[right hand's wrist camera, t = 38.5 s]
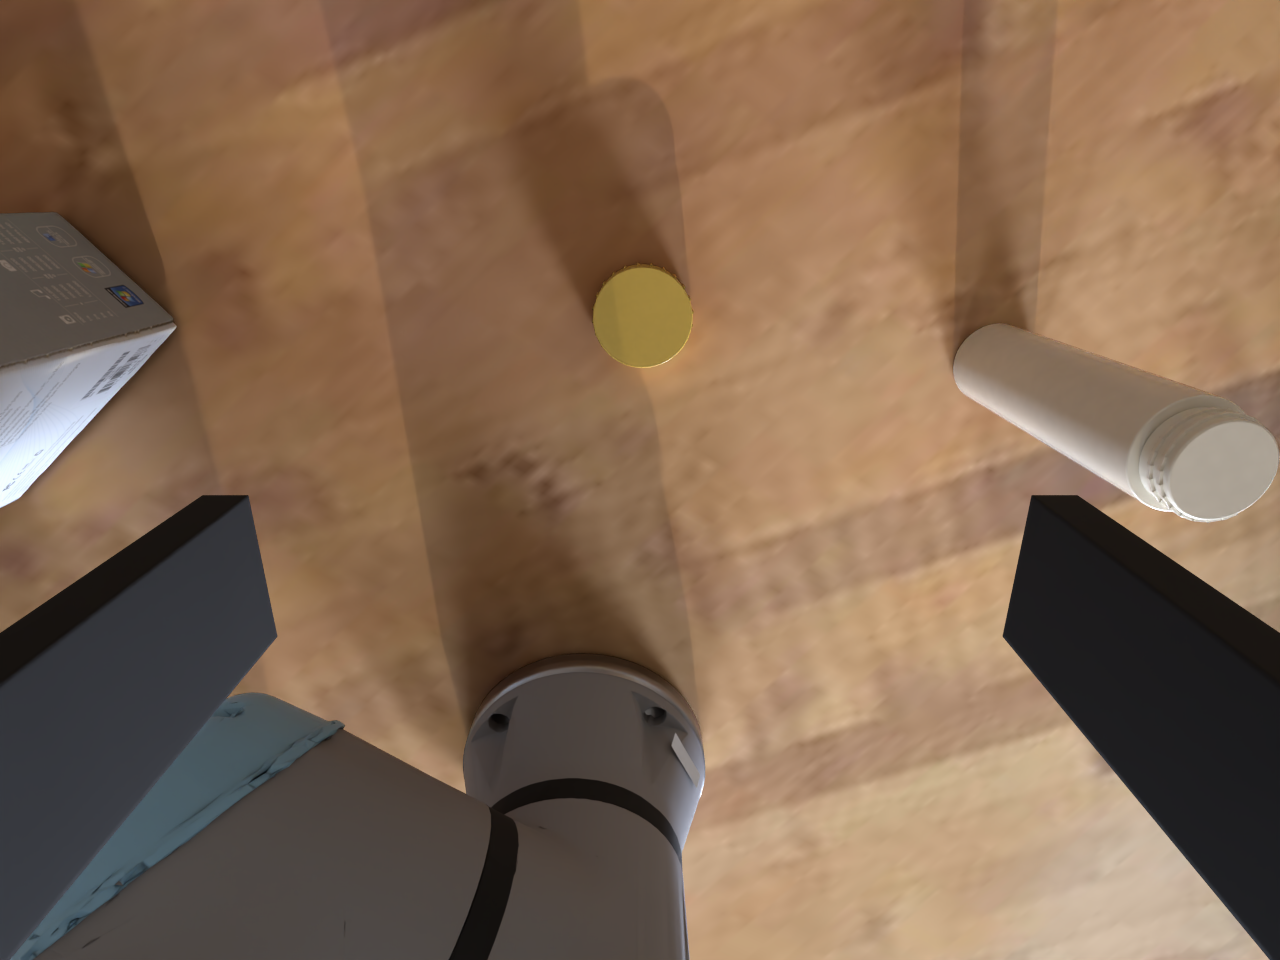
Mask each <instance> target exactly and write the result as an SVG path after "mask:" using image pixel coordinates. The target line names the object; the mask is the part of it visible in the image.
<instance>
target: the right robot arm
mask: <svg viewBox="0 0 1280 960" xmlns="http://www.w3.org/2000/svg"><path fill="white" fill-rule="evenodd" d="M276 637H277V632H276V628H275V623H274V618H273V613H272V608H271V603H270V598H269V594H268V589H267V584H266V579H265V574H264V569H263V564H262V560H261V555H260V550H259V545H258V540H257V535H256V530H255V526H254V521H253V516H252V511H251V506H250V501H249V496H248V495H202V496H201V497H199V498H198V499H196V500H195V501H194V502H192V503H191V504H189V505H188V506H186V507H185V508H183V509H182V510H180V511H179V512H177V513H176V514H174V515H173V516H172V517H170V518H169V519H167V520H166V521H164V522H163V523H161V524H160V525H158V526H157V527H155V528H154V529H152V530H151V531H149V532H148V533H147V534H145V535H144V536H142V537H141V538H139V539H138V540H136V541H135V542H133V543H132V544H130V545H129V546H127V547H126V548H124V549H123V550H122V551H120V552H119V553H117V554H116V555H114V556H113V557H111V558H110V559H108V560H107V561H105V562H104V563H102V564H101V565H100V566H98V567H97V568H95V569H94V570H92V571H91V572H89V573H88V574H86V575H85V576H83V577H82V578H80V579H79V580H77V581H76V582H75V583H73V584H72V585H70V586H69V587H67V588H66V589H64V590H63V591H61V592H60V593H58V594H57V595H55V596H54V597H52V598H51V599H50V600H48V601H47V602H45V603H44V604H42V605H41V606H39V607H38V608H36V609H35V610H33V611H32V612H30V613H29V614H28V615H26V616H25V617H23V618H22V619H20V620H19V621H17V622H16V623H14V624H13V625H11V626H10V627H8V628H7V629H5V630H4V631H3V632H1V633H0V960H690V958H689V945H688V933H687V920H686V908H685V895H684V882H683V873H682V850H683V847H684V844H685V841H686V838H687V835H688V832H689V829H690V826H691V823H692V820H693V816H694V813H695V810H696V807H697V804H698V801H699V798H700V796H701V793H702V789H703V785H704V779H705V760H704V751H703V742H702V736H701V731H700V728H699V725H698V722H697V719H696V717H695V715H694V713H693V711H692V709H691V708H690V706H689V705H688V703H687V702H686V700H685V699H684V698H683V697H682V695H681V694H680V693H679V692H678V691H677V690H676V689H675V688H674V687H673V686H672V685H670V684H669V683H668V682H667V681H666V680H664V679H663V678H661V677H660V676H658V675H657V674H655V673H654V672H652V671H650V670H648V669H646V668H644V667H642V666H640V665H638V664H635V663H632V662H629V661H627V660H624V659H620V658H616V657H611V656H605V655H597V654H569V655H561V656H555V657H550V658H547V659H543V660H540V661H537V662H534V663H531V664H529V665H527V666H525V667H523V668H520V669H519V670H517V671H515V672H514V673H512V674H510V675H509V676H507V677H506V678H505V679H503V680H502V681H501V682H500V683H499V684H498V685H496V686H495V687H494V688H493V689H492V690H491V692H490V693H489V694H488V695H487V696H486V698H485V699H484V700H483V702H482V703H481V705H480V707H479V709H478V710H477V712H476V715H475V717H474V720H473V722H472V726H471V729H470V732H469V735H468V738H467V742H466V745H465V749H464V756H463V772H464V779H465V786H466V794H465V793H463V792H461V791H459V790H457V789H455V788H453V787H451V786H449V785H447V784H445V783H443V782H441V781H439V780H437V779H435V778H433V777H431V776H430V775H428V774H426V773H424V772H422V771H420V770H418V769H416V768H415V767H413V766H411V765H409V764H407V763H405V762H403V761H401V760H400V759H398V758H396V757H394V756H392V755H390V754H388V753H386V752H385V751H383V750H381V749H379V748H377V747H375V746H373V745H371V744H370V743H368V742H366V741H364V740H362V739H360V738H358V737H356V736H355V735H353V734H351V733H349V732H347V731H345V730H343V728H344V727H345V725H344V724H343V723H341V722H340V721H337V720H334V721H326V720H324V719H322V718H320V717H318V716H315V715H313V714H311V713H309V712H307V711H304V710H302V709H300V708H298V707H295V706H293V705H291V704H289V703H287V702H284V701H282V700H280V699H278V698H276V697H273V696H270V695H267V694H263V693H244V694H239V695H235V696H232V697H229V698H227V697H228V696H229V694H230V693H231V692H232V691H233V690H234V688H235V687H236V686H237V685H238V683H239V682H240V681H241V680H242V679H243V677H244V676H245V675H246V674H247V673H248V671H249V670H250V669H251V668H252V667H253V665H254V664H255V663H256V662H257V660H258V659H259V658H260V657H261V656H262V654H263V653H264V652H265V651H266V650H267V648H268V647H269V646H270V645H271V644H272V642H273V641H274V640H275V639H276ZM1003 637H1004V639H1005V640H1006V641H1007V642H1008V644H1009V645H1010V646H1011V647H1012V648H1013V650H1014V651H1015V652H1016V653H1017V654H1018V656H1019V657H1020V658H1021V659H1022V660H1023V662H1024V663H1025V664H1026V665H1027V667H1028V668H1029V669H1030V670H1031V671H1032V673H1033V674H1034V675H1035V676H1036V677H1037V679H1038V680H1039V681H1040V682H1041V683H1042V685H1043V686H1044V687H1045V688H1046V690H1047V691H1048V692H1049V693H1050V694H1051V696H1052V697H1053V698H1054V699H1055V700H1056V702H1057V703H1058V704H1059V705H1060V706H1061V708H1062V709H1063V710H1064V711H1065V712H1066V714H1067V715H1068V716H1069V717H1070V719H1071V720H1072V721H1073V722H1074V723H1075V725H1076V726H1077V727H1078V728H1079V729H1080V731H1081V732H1082V733H1083V734H1084V735H1085V737H1086V738H1087V739H1088V740H1089V742H1090V743H1091V744H1092V745H1093V746H1094V748H1095V749H1096V750H1097V751H1098V752H1099V754H1100V755H1101V756H1102V757H1103V758H1104V760H1105V761H1106V762H1107V763H1108V765H1109V766H1110V767H1111V768H1112V769H1113V771H1114V772H1115V773H1116V774H1117V775H1118V777H1119V778H1120V779H1121V780H1122V781H1123V783H1124V784H1125V785H1126V786H1127V788H1128V789H1129V790H1130V791H1131V792H1132V794H1133V795H1134V796H1135V797H1136V798H1137V800H1138V801H1139V802H1140V803H1141V804H1142V806H1143V807H1144V808H1145V809H1146V810H1147V812H1148V813H1149V814H1150V815H1151V817H1152V818H1153V819H1154V820H1155V821H1156V823H1157V824H1158V825H1159V826H1160V827H1161V829H1162V830H1163V831H1164V832H1165V833H1166V835H1167V836H1168V837H1169V838H1170V840H1171V841H1172V842H1173V843H1174V844H1175V846H1176V847H1177V848H1178V849H1179V850H1180V852H1181V853H1182V854H1183V855H1184V856H1185V858H1186V859H1187V860H1188V861H1189V863H1190V864H1191V865H1192V866H1193V867H1194V869H1195V870H1196V871H1197V872H1198V873H1199V875H1200V876H1201V877H1202V878H1203V879H1204V881H1205V882H1206V883H1207V884H1208V886H1209V887H1210V888H1211V889H1212V890H1213V892H1214V893H1215V894H1216V895H1217V896H1218V898H1219V899H1220V900H1221V901H1222V902H1223V904H1224V905H1225V906H1226V907H1227V908H1228V910H1229V911H1230V912H1231V913H1232V915H1233V916H1234V917H1235V918H1236V919H1237V921H1238V922H1239V923H1240V924H1241V925H1242V927H1243V928H1244V929H1245V930H1246V931H1247V933H1248V934H1249V935H1250V936H1251V938H1252V939H1253V940H1254V941H1255V942H1256V944H1257V945H1258V946H1259V947H1260V948H1261V950H1262V951H1263V952H1264V953H1265V954H1266V956H1267V957H1268V958H1269V959H1270V960H1280V633H1279V632H1277V631H1276V630H1275V629H1273V628H1272V627H1270V626H1269V625H1267V624H1266V623H1264V622H1263V621H1261V620H1260V619H1258V618H1257V617H1255V616H1254V615H1252V614H1251V613H1250V612H1248V611H1247V610H1245V609H1244V608H1242V607H1241V606H1239V605H1238V604H1236V603H1235V602H1233V601H1232V600H1230V599H1229V598H1228V597H1226V596H1225V595H1223V594H1222V593H1220V592H1219V591H1217V590H1216V589H1214V588H1213V587H1211V586H1210V585H1208V584H1207V583H1205V582H1204V581H1203V580H1201V579H1200V578H1198V577H1197V576H1195V575H1194V574H1192V573H1191V572H1189V571H1188V570H1186V569H1185V568H1183V567H1182V566H1180V565H1179V564H1178V563H1176V562H1175V561H1173V560H1172V559H1170V558H1169V557H1167V556H1166V555H1164V554H1163V553H1161V552H1160V551H1158V550H1157V549H1156V548H1154V547H1153V546H1151V545H1150V544H1148V543H1147V542H1145V541H1144V540H1142V539H1141V538H1139V537H1138V536H1136V535H1135V534H1133V533H1132V532H1131V531H1129V530H1128V529H1126V528H1125V527H1123V526H1122V525H1120V524H1119V523H1117V522H1116V521H1114V520H1113V519H1111V518H1110V517H1108V516H1107V515H1106V514H1104V513H1103V512H1101V511H1100V510H1098V509H1097V508H1095V507H1094V506H1092V505H1091V504H1089V503H1088V502H1086V501H1085V500H1084V499H1082V498H1081V497H1079V496H1078V495H1032V496H1031V501H1030V506H1029V511H1028V516H1027V521H1026V526H1025V530H1024V535H1023V540H1022V545H1021V550H1020V555H1019V560H1018V564H1017V569H1016V574H1015V579H1014V584H1013V589H1012V594H1011V598H1010V603H1009V608H1008V613H1007V618H1006V623H1005V628H1004V632H1003ZM226 698H227V699H226Z"/></svg>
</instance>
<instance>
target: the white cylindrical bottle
mask: <svg viewBox="0 0 1280 960" xmlns="http://www.w3.org/2000/svg"><path fill="white" fill-rule="evenodd" d="M953 373H954V379H955V382H956V384H957V386H958V388H959V389H960V390H961V392H962V393H963V394H965V395H966V396H967V397H969V398H970V399H972V400H974V401H975V402H977V403H979V404H980V405H982V406H984V407H985V408H987V409H989V410H990V411H992V412H993V413H995V414H997V415H998V416H1000V417H1002V418H1003V419H1005V420H1007V421H1008V422H1010V423H1012V424H1013V425H1015V426H1017V427H1018V428H1020V429H1021V430H1023V431H1025V432H1026V433H1028V434H1030V435H1031V436H1033V437H1035V438H1036V439H1038V440H1040V441H1041V442H1043V443H1045V444H1046V445H1048V446H1049V447H1051V448H1053V449H1054V450H1056V451H1058V452H1059V453H1061V454H1063V455H1064V456H1066V457H1068V458H1069V459H1071V460H1072V461H1074V462H1076V463H1077V464H1079V465H1081V466H1082V467H1084V468H1086V469H1087V470H1089V471H1091V472H1092V473H1094V474H1096V475H1097V476H1099V477H1100V478H1102V479H1104V480H1105V481H1107V482H1109V483H1110V484H1112V485H1114V486H1115V487H1117V488H1119V489H1120V490H1122V491H1124V492H1125V493H1127V494H1128V495H1130V496H1132V497H1133V498H1135V499H1137V500H1138V501H1140V502H1142V503H1143V504H1145V505H1147V506H1149V507H1151V508H1153V509H1157V510H1161V511H1173V512H1174V513H1176V514H1177V515H1179V516H1180V517H1183V518H1186V519H1189V520H1192V521H1198V522H1214V521H1219V520H1226V519H1228V518H1231V517H1233V516H1235V515H1238V513H1239V512H1241V511H1243V510H1245V509H1246V508H1248V507H1249V506H1251V505H1252V504H1253V503H1255V502H1256V501H1257V500H1258V499H1259V498H1260V497H1261V496H1262V495H1263V494H1264V493H1265V491H1266V490H1267V489H1268V488H1269V486H1270V484H1271V483H1272V481H1273V479H1274V477H1275V475H1276V472H1277V469H1278V464H1279V449H1278V445H1277V442H1276V440H1275V438H1274V437H1273V435H1272V434H1271V432H1270V431H1269V430H1268V429H1267V428H1265V427H1264V426H1263V425H1262V424H1261V423H1260V422H1258V421H1257V420H1256V419H1255V418H1253V417H1250V416H1248V415H1246V414H1245V413H1244V411H1243V410H1242V409H1241V408H1240V407H1239V406H1238V405H1236V404H1235V403H1234V402H1232V401H1230V400H1228V399H1226V398H1223V397H1220V396H1217V395H1214V394H1211V393H1208V392H1205V391H1203V390H1200V389H1197V388H1194V387H1191V386H1188V385H1185V384H1182V383H1179V382H1176V381H1173V380H1170V379H1168V378H1165V377H1162V376H1159V375H1156V374H1153V373H1150V372H1147V371H1144V370H1141V369H1138V368H1135V367H1133V366H1130V365H1127V364H1124V363H1121V362H1118V361H1115V360H1112V359H1109V358H1106V357H1103V356H1100V355H1098V354H1095V353H1092V352H1089V351H1086V350H1083V349H1080V348H1077V347H1074V346H1071V345H1068V344H1065V343H1062V342H1060V341H1057V340H1054V339H1051V338H1048V337H1045V336H1042V335H1039V334H1036V333H1033V332H1030V331H1027V330H1025V329H1022V328H1019V327H1016V326H1013V325H1010V324H1003V323H998V324H991V325H987V326H985V327H982V328H980V329H978V330H976V331H975V332H973V333H972V334H971V335H970V336H969V337H967V339H966V340H965V341H964V342H963V343H962V345H961V346H960V348H959V349H958V351H957V354H956V356H955V360H954V365H953Z"/></svg>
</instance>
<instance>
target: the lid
mask: <svg viewBox="0 0 1280 960" xmlns="http://www.w3.org/2000/svg"><path fill="white" fill-rule="evenodd" d="M602 285H603V286H602V288H601V290H600V292H597V294H596V297H597V299H596V302H595V304H594V305H593V308H592V310H593V320H592V323H593V325H594V330H595V335H596V336H597V338H598V341H599V342H600V344H601V346H602V347H603V348H604V350H605V351H606V352H607V353H608V354H609V355H610V356H611V357H613V358H614V359H615V360H617V361H619V362H621V363H623V364H625V365H628V366H632V367H638V368H648V367H654V366H657V365H660V364H663V363H665V362H667V361H668V360H670V359H671V358H673V357H674V356H675V355H676V354H677V353H678V352H679V351H680V350H681V349H682V348H683V346H684V345H685V343H686V341H687V339H688V338H689V334H690V331H691V327H692V326H693V324H692V314H693V310H692V307H691V303H690V301H691V298H690V296H689V295H687V293H686V291H685V286H684V284H681V283H680V282H679V280H678V279H677V277H676V275H675V274H673V275H672V274H671V273H670V272H668V271H666V270H665V268H664V267H662V268H660V267H658V266H654V265H652V263H650V265H649V264H639V263H637V264H636V265H631V266H628V267H627V266H624V268H623V269H621V270H619V271H617V272H616V273H615V271H614V272H613V274H612V276H611V277H610V278H609V279H608V280H607V281H604V282H603V284H602Z"/></svg>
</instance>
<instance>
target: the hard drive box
mask: <svg viewBox="0 0 1280 960" xmlns="http://www.w3.org/2000/svg"><path fill="white" fill-rule="evenodd" d="M173 320H174V318H173V317H172V316H171V315H170V314H168V313H167V312H166V311H165V310H164V309H163V308H162V307H161V306H160V305H159V304H158V303H157V302H156V301H154V300H153V299H152V298H151V297H150V296H149V295H148V294H147V293H145V292H144V291H143V290H142V289H141V288H140V287H139V286H138V285H137V284H136V283H135V282H133V281H132V280H131V279H130V278H129V277H128V276H127V275H126V274H125V273H124V272H123V271H121V270H120V269H119V268H118V267H117V266H116V265H115V264H114V263H113V262H111V261H110V260H109V259H108V258H107V257H106V256H105V255H104V254H103V253H101V252H100V251H99V250H98V249H97V248H96V247H95V246H94V245H93V244H92V243H91V242H89V241H88V240H87V239H86V238H85V237H84V236H83V235H82V234H81V233H80V232H79V231H77V230H76V229H75V228H74V227H73V226H72V225H71V224H70V223H69V222H67V221H66V220H65V219H64V218H63V217H62V216H60V215H59V214H58V213H56V212H43V213H7V214H0V508H1V507H3V506H5V505H7V504H9V503H11V502H13V501H15V500H17V499H18V498H20V497H21V496H22V494H23V493H24V492H25V491H26V490H27V489H28V488H29V487H30V486H31V484H32V483H33V482H34V481H35V480H36V479H37V478H38V477H39V475H40V474H42V473H43V472H44V471H45V470H46V469H47V468H48V467H49V465H50V464H51V463H52V462H53V461H54V460H55V459H56V458H57V457H58V455H59V454H60V453H61V452H62V451H63V450H64V449H65V447H66V446H67V445H68V444H69V443H70V442H71V441H72V440H73V439H74V438H75V437H76V436H77V435H78V434H79V433H80V432H81V431H82V430H83V429H84V428H85V426H86V425H87V424H88V423H89V422H90V421H91V420H92V419H93V418H94V416H95V415H96V414H97V413H98V412H99V411H100V410H101V409H102V408H103V407H104V406H105V405H106V403H107V402H108V401H109V400H110V399H111V398H112V397H113V396H114V395H115V394H116V393H117V392H118V391H119V390H120V388H121V387H122V386H123V385H124V384H125V383H126V382H127V381H128V380H129V379H130V378H131V377H132V376H133V375H134V374H135V373H136V372H137V371H138V370H139V369H140V368H141V366H142V365H143V364H144V363H145V362H146V361H147V360H148V359H149V357H150V356H151V355H152V354H153V353H154V352H155V351H156V349H157V348H158V347H159V346H160V345H161V344H162V343H163V342H164V341H165V340H166V339H167V338H168V337H169V335H170V334H171V333H172V332H173V331H174V330H175V329H176V327H177V326H176V325H175V324H174V323H173Z"/></svg>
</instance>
